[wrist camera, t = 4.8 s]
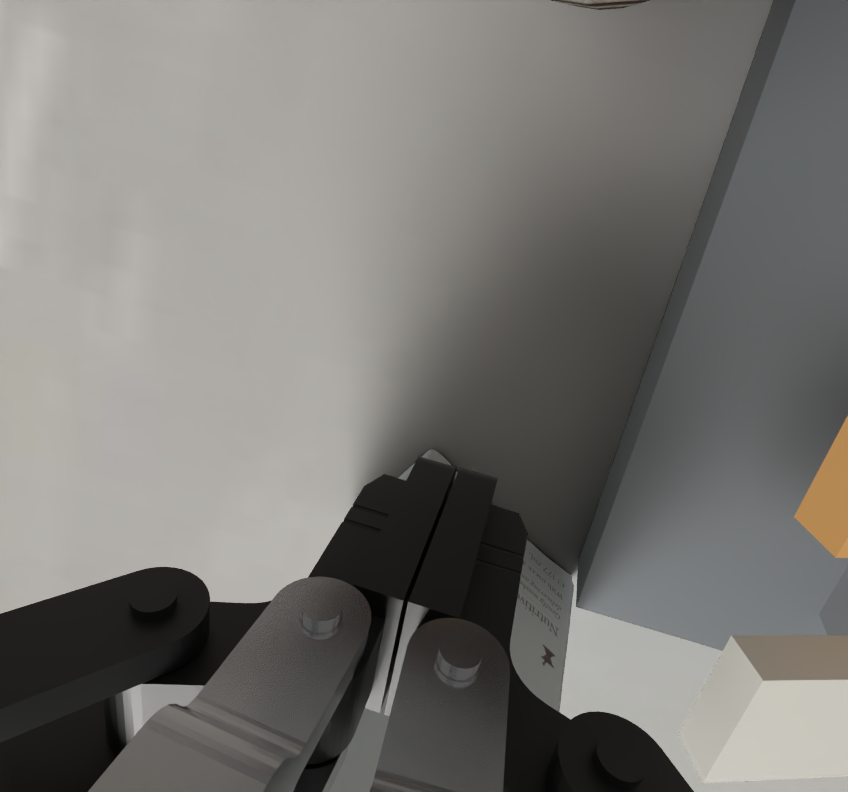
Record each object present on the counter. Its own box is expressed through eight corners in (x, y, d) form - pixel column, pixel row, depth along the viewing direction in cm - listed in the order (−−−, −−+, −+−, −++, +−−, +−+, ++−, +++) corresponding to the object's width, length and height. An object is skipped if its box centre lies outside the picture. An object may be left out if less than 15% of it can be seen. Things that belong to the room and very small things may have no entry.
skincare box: (577, 575, 25) (555, 1090, 12) (475, 641, 28) (366, 1117, 15) (424, 435, 24) (218, 826, 11) (334, 518, 27) (85, 908, 14)
